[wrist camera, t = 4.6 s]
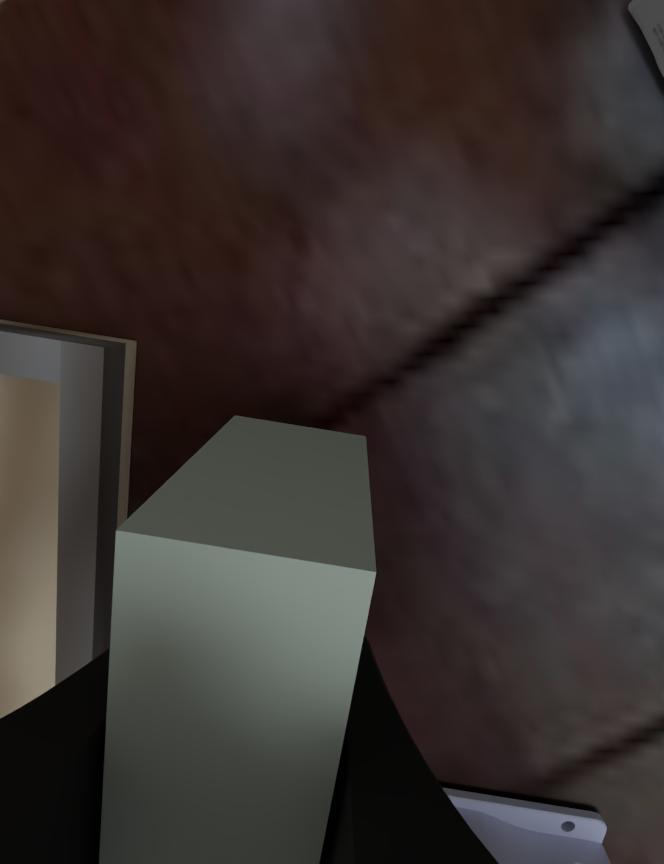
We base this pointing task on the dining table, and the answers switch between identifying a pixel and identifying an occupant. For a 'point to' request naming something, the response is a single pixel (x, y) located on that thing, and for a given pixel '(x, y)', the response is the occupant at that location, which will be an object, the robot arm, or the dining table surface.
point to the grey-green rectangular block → (237, 649)
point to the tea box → (651, 25)
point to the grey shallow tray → (59, 499)
